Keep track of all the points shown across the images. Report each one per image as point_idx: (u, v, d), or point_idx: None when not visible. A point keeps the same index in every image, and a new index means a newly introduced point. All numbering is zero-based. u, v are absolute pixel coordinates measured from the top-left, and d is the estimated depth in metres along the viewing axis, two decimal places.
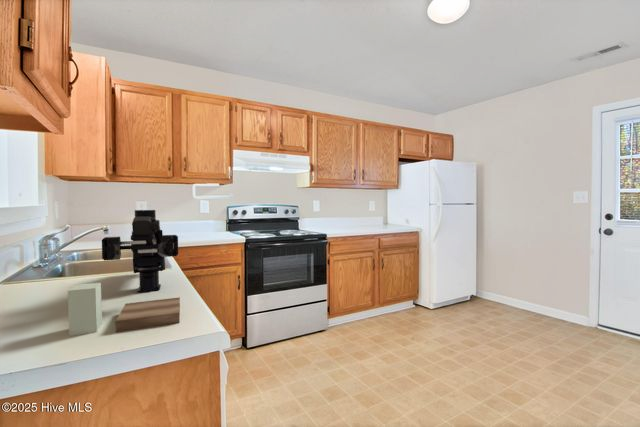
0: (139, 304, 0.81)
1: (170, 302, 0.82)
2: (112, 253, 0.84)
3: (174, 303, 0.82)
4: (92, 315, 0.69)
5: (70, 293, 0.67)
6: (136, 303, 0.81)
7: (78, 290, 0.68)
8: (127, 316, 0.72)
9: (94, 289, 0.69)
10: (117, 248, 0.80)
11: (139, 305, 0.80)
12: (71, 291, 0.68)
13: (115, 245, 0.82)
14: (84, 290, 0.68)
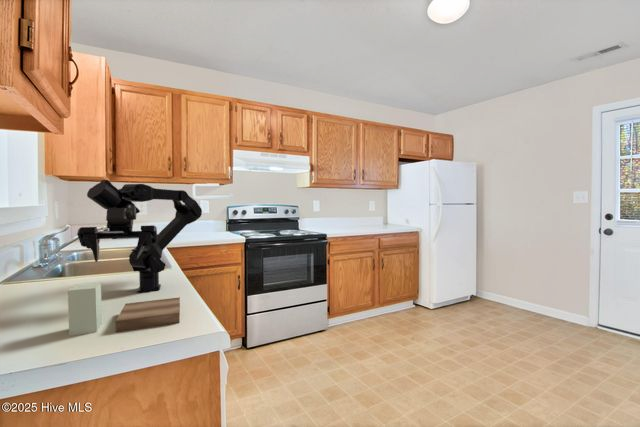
0: (139, 304, 0.81)
1: (170, 302, 0.82)
2: (90, 244, 0.85)
3: (174, 303, 0.82)
4: (92, 315, 0.69)
5: (70, 292, 0.67)
6: (136, 303, 0.81)
7: (78, 290, 0.68)
8: (127, 316, 0.72)
9: (94, 289, 0.69)
10: (95, 254, 0.82)
11: (139, 305, 0.80)
12: (71, 291, 0.68)
13: (92, 245, 0.83)
14: (84, 290, 0.68)
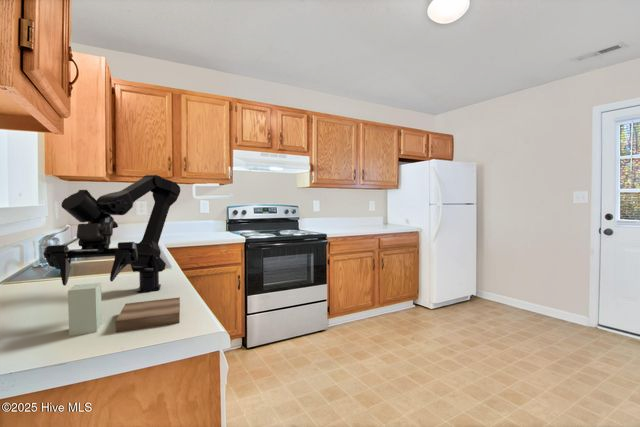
0: (139, 304, 0.81)
1: (170, 302, 0.82)
2: None
3: (174, 303, 0.82)
4: (92, 315, 0.69)
5: (70, 292, 0.67)
6: (136, 303, 0.81)
7: (78, 290, 0.68)
8: (127, 316, 0.72)
9: (94, 289, 0.69)
10: (63, 276, 0.72)
11: (139, 305, 0.80)
12: (71, 291, 0.68)
13: (60, 266, 0.73)
14: (84, 290, 0.68)
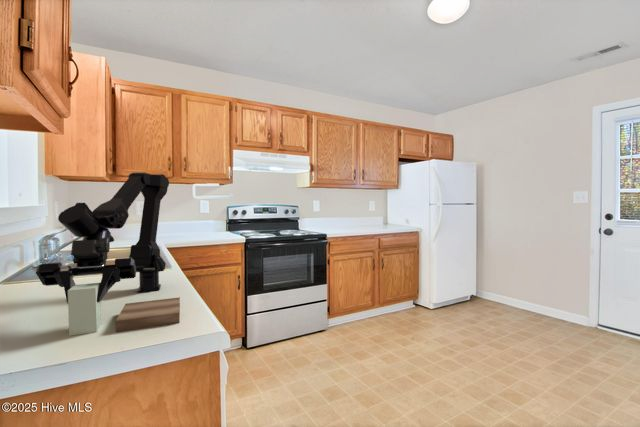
0: (139, 304, 0.81)
1: (170, 302, 0.82)
2: None
3: (174, 303, 0.82)
4: (92, 315, 0.69)
5: (70, 292, 0.67)
6: (136, 303, 0.81)
7: (78, 290, 0.68)
8: (127, 316, 0.72)
9: (94, 289, 0.69)
10: None
11: (139, 305, 0.80)
12: (71, 291, 0.67)
13: (65, 285, 0.70)
14: (84, 290, 0.68)
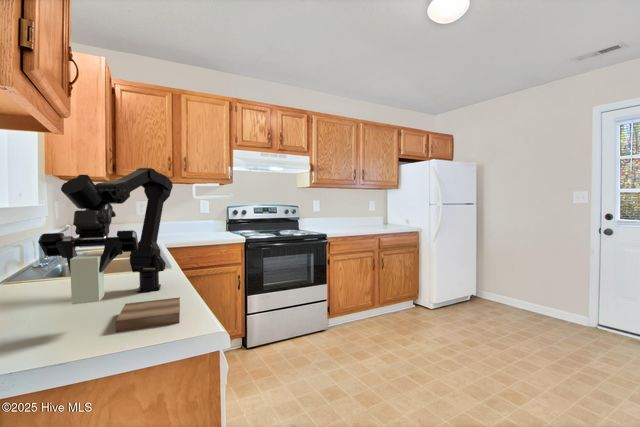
0: (139, 304, 0.81)
1: (170, 302, 0.82)
2: None
3: (174, 303, 0.82)
4: (95, 284, 0.69)
5: (72, 261, 0.68)
6: (136, 303, 0.81)
7: (80, 259, 0.68)
8: (127, 316, 0.72)
9: (96, 258, 0.69)
10: None
11: (139, 305, 0.80)
12: (73, 260, 0.68)
13: (67, 255, 0.70)
14: (86, 259, 0.69)
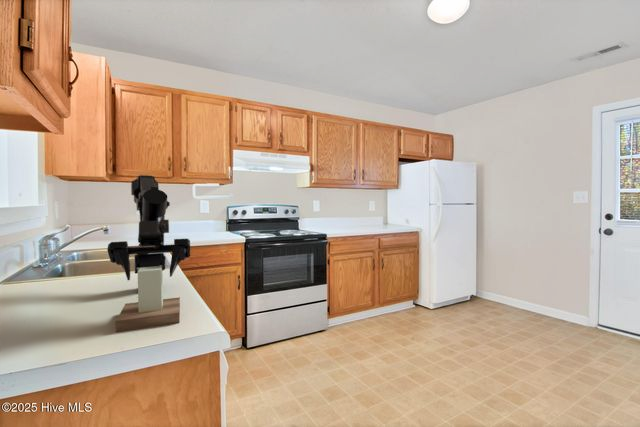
0: None
1: (170, 302, 0.82)
2: (121, 260, 0.78)
3: (174, 303, 0.82)
4: (158, 294, 0.76)
5: (139, 273, 0.74)
6: (136, 303, 0.81)
7: (146, 271, 0.75)
8: (127, 316, 0.72)
9: (160, 271, 0.76)
10: (127, 272, 0.75)
11: None
12: (140, 272, 0.74)
13: (124, 262, 0.76)
14: (151, 271, 0.75)
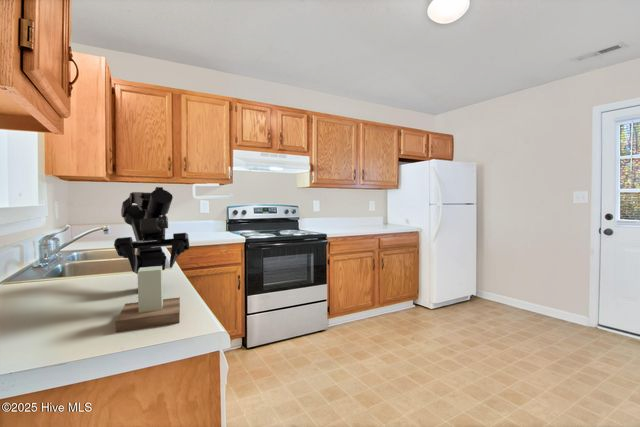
0: None
1: (170, 302, 0.82)
2: (127, 254, 0.87)
3: (174, 303, 0.82)
4: (158, 294, 0.76)
5: (139, 273, 0.74)
6: (136, 303, 0.81)
7: (146, 271, 0.75)
8: (127, 316, 0.72)
9: (160, 271, 0.76)
10: (132, 264, 0.84)
11: None
12: (140, 272, 0.74)
13: (129, 256, 0.85)
14: (151, 271, 0.75)
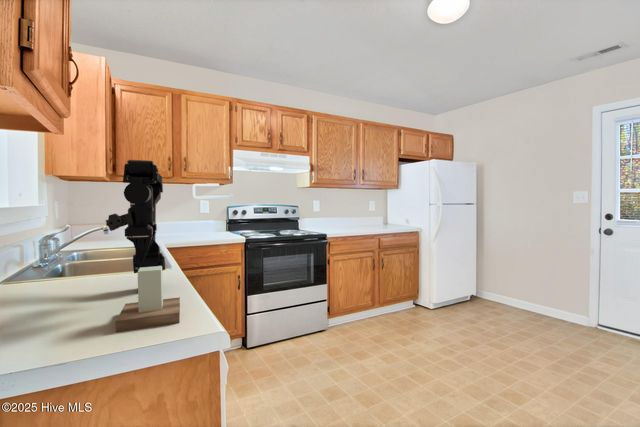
0: None
1: (170, 302, 0.82)
2: None
3: (174, 303, 0.82)
4: (158, 294, 0.76)
5: (139, 273, 0.74)
6: (136, 303, 0.81)
7: (146, 271, 0.75)
8: (127, 316, 0.72)
9: (160, 271, 0.76)
10: None
11: None
12: (140, 272, 0.74)
13: None
14: (151, 271, 0.75)
